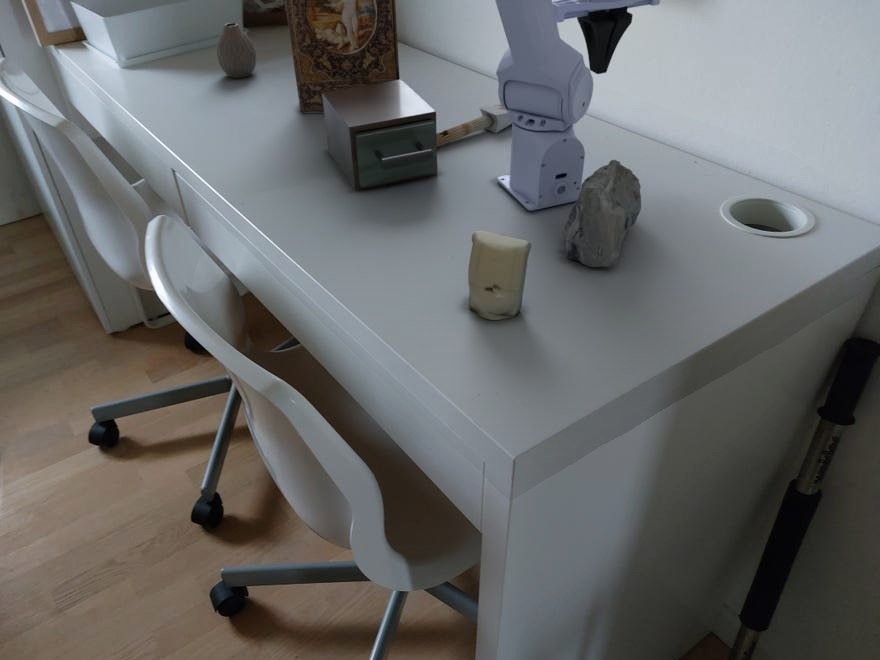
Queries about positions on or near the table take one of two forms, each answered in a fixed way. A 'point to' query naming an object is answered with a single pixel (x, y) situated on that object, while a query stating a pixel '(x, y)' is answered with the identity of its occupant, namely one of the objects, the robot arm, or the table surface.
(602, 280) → the table surface
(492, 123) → the paintbrush
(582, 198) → the mineral rock
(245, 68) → the vase
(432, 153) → the drawer
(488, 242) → the cream tall block
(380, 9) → the book
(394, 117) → the cabinet
